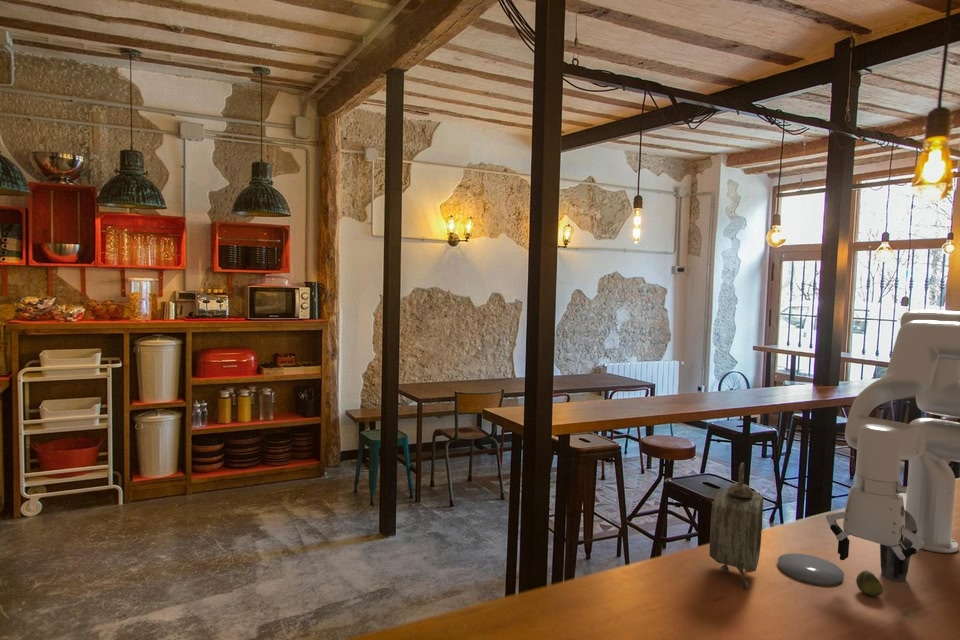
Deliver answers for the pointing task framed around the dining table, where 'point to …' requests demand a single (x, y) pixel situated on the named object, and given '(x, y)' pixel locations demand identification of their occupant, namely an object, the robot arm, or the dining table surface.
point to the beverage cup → (889, 555)
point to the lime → (869, 583)
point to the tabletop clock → (736, 527)
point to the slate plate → (810, 569)
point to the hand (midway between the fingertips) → (869, 567)
